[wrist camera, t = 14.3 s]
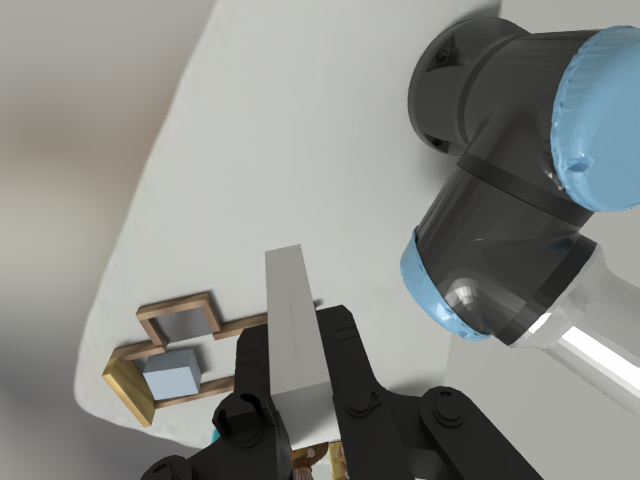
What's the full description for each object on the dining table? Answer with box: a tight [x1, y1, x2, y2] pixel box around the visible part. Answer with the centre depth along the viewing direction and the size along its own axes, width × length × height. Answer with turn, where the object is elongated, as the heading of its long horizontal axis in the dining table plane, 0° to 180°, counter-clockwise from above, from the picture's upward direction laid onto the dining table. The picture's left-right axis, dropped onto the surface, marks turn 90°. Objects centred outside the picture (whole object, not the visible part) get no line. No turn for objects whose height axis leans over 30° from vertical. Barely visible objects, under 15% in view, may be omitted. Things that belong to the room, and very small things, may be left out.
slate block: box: [143, 348, 202, 400], centre depth 55 cm, size 7×7×4 cm
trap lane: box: [102, 293, 316, 427], centre depth 55 cm, size 33×28×5 cm
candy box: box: [328, 442, 350, 480], centre depth 73 cm, size 9×4×15 cm, turn 90°
